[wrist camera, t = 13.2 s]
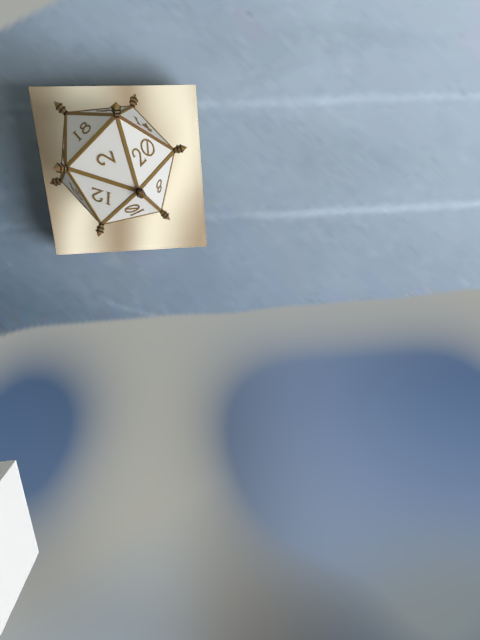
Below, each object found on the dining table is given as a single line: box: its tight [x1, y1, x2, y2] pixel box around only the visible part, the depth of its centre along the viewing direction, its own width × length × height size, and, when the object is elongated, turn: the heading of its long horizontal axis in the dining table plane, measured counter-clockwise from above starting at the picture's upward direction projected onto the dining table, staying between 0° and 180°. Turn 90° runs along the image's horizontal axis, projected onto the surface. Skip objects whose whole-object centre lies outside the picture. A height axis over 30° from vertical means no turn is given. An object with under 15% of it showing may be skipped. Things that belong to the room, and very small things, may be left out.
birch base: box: [28, 85, 207, 255], centre depth 32 cm, size 12×12×4 cm
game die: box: [50, 94, 187, 237], centre depth 26 cm, size 9×8×10 cm
